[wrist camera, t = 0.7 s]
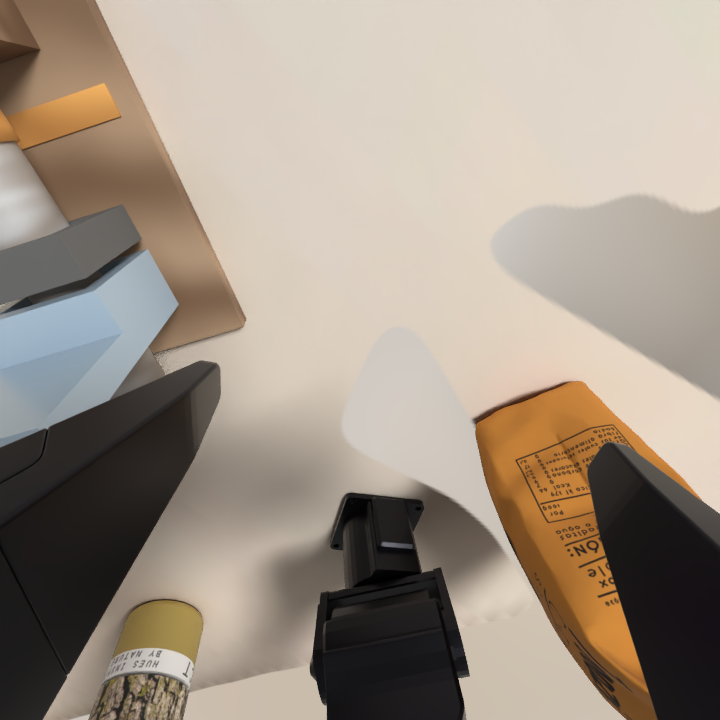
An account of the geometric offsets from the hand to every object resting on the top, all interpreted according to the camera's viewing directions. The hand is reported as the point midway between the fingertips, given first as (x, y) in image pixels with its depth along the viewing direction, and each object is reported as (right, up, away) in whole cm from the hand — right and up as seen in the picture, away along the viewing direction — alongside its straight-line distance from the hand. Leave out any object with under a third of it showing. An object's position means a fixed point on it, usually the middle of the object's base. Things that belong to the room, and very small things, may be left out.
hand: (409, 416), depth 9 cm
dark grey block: (-14, +7, +9) cm, 18 cm away
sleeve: (-13, +5, +11) cm, 18 cm away
